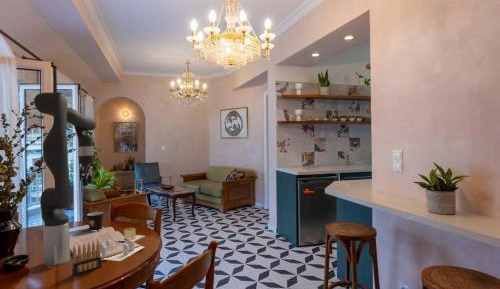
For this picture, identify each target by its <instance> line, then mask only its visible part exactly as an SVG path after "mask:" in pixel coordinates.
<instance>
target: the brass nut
mask: <svg viewBox="0 0 500 289" xmlns="http://www.w3.org/2000/svg"><path fill="white" fill-rule="evenodd" d="M136 235H137V234H136V228H135V227H127V228H125V229H124V228H123V237H124V239H125V240H126V239H127V238H131V240H132V239H134V238H136Z"/></svg>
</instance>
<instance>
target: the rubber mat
mask: <svg viewBox="0 0 500 289" xmlns="http://www.w3.org/2000/svg"><path fill="white" fill-rule="evenodd" d="M121 238H123V239H124V236H122V237H121ZM144 238H146V235H141V234H136V238H134V239H132V240H134V243H135V242H137V241H138V240H141V239H144ZM124 240H125V239H124ZM125 241H126V240H125Z"/></svg>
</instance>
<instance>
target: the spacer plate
mask: <svg viewBox="0 0 500 289" xmlns="http://www.w3.org/2000/svg"><path fill="white" fill-rule="evenodd" d="M99 245H100V253H102V256H103V257H105V256H107V249H111V246H112V239H106V240H105V243H103V242H102V243H99ZM122 245H123V253H121V254H118V255H115V256H112V257H109V258H104V259H103V261H104V260H106V261H115V262H116V261H117V262H121V261H123V260H125V259H126V258H129V257H130V256H132V255H134V254H135V253H137V252H138V251H141V250H142V249H144V248H145V246H142V245H141V246H140V247H138V248H135V249H134V246H135V242H134V240H131V238H127V239H126V242H125V244H122ZM128 247H129V251H128Z"/></svg>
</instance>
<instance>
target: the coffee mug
mask: <svg viewBox="0 0 500 289" xmlns="http://www.w3.org/2000/svg"><path fill="white" fill-rule="evenodd" d="M85 217H86V218H87V221H88V222H87V221H85ZM82 220H83V222H84V224H87V225H88V227H89V228H88V229H89V231H90V230H99V229H103V220H104V212H103V211H95V212H91V213H90V212H89V213H87V214H86V215H84V216H83V218H82Z"/></svg>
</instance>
